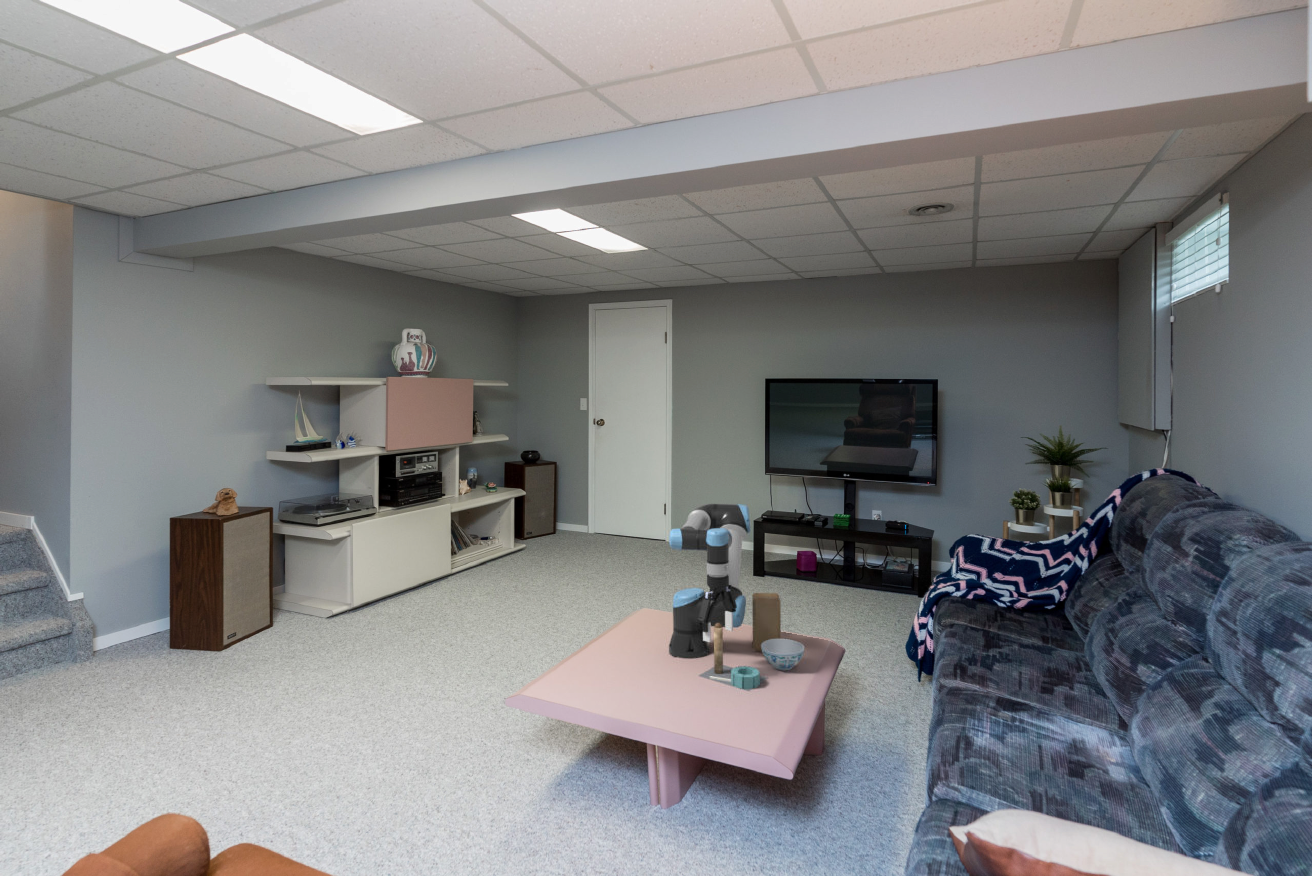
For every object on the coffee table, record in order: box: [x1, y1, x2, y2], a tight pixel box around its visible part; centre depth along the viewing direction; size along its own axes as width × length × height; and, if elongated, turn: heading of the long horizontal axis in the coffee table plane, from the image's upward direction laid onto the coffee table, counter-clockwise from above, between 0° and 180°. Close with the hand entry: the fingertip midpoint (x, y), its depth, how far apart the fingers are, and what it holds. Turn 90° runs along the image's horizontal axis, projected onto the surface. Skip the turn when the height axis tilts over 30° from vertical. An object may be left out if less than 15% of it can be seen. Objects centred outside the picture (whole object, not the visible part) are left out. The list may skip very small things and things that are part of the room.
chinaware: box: [761, 638, 805, 671], centre depth 241 cm, size 15×15×8 cm
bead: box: [731, 665, 761, 690], centre depth 227 cm, size 9×9×4 cm
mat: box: [698, 664, 769, 692], centre depth 233 cm, size 20×13×1 cm, turn 51°
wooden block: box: [751, 592, 782, 653], centre depth 259 cm, size 10×10×20 cm
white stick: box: [709, 676, 731, 682], centre depth 230 cm, size 8×1×1 cm, turn 66°
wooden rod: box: [713, 623, 724, 674], centre depth 236 cm, size 3×3×17 cm
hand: (718, 635), depth 235 cm, fingers open, 13 cm apart
